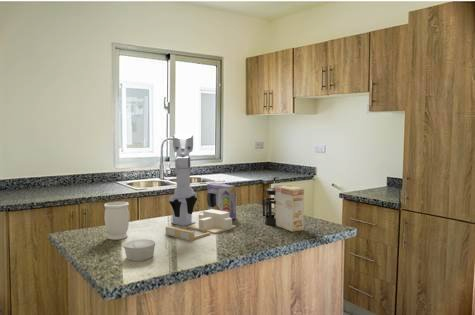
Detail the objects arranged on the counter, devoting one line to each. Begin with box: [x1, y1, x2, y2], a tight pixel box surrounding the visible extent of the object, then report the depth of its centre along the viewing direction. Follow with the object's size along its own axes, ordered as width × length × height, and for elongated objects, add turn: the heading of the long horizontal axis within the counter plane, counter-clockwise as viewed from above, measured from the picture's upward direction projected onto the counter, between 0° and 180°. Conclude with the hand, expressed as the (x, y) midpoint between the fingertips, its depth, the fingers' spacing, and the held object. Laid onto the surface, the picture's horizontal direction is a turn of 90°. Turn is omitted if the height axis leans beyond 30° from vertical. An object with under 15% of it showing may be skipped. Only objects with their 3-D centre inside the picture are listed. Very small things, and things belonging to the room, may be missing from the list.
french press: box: [262, 176, 279, 227], centre depth 193 cm, size 12×9×23 cm
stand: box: [186, 209, 237, 235], centre depth 186 cm, size 15×18×7 cm
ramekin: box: [123, 238, 156, 262], centre depth 144 cm, size 11×11×5 cm
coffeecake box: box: [273, 184, 305, 232], centre depth 185 cm, size 15×7×20 cm, turn 28°
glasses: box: [165, 225, 211, 242], centre depth 174 cm, size 12×16×4 cm
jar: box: [103, 201, 130, 241], centre depth 170 cm, size 11×10×15 cm
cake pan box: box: [206, 182, 237, 220], centre depth 208 cm, size 19×5×18 cm, turn 42°
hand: (183, 215), depth 170 cm, fingers open, 7 cm apart
